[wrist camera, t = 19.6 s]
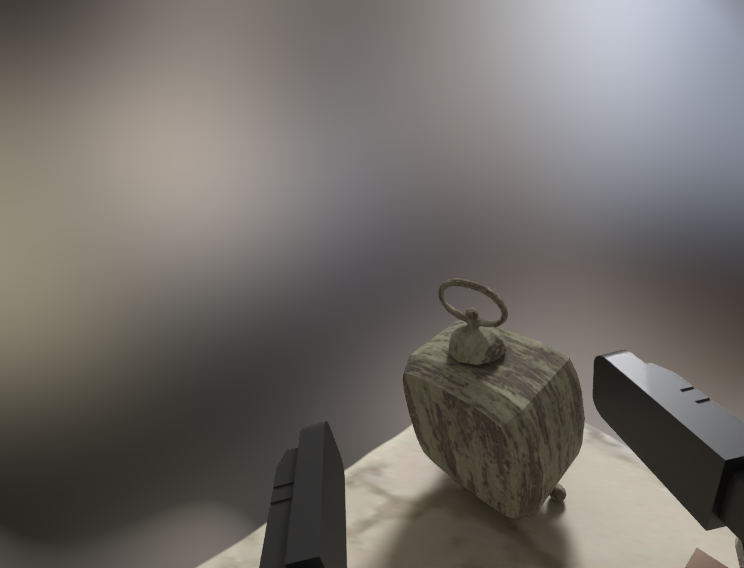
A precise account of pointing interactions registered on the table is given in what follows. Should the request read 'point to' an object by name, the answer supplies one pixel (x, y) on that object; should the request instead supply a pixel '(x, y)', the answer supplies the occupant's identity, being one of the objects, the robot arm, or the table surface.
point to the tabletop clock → (495, 409)
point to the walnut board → (703, 561)
